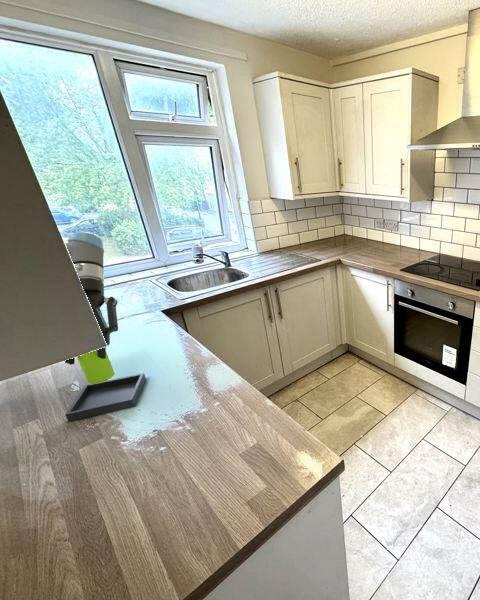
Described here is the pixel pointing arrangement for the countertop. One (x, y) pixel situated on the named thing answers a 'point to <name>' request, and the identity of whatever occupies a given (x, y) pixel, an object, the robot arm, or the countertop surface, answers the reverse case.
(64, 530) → the countertop surface
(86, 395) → the tray
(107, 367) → the soap dispenser
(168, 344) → the countertop surface
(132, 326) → the countertop surface
